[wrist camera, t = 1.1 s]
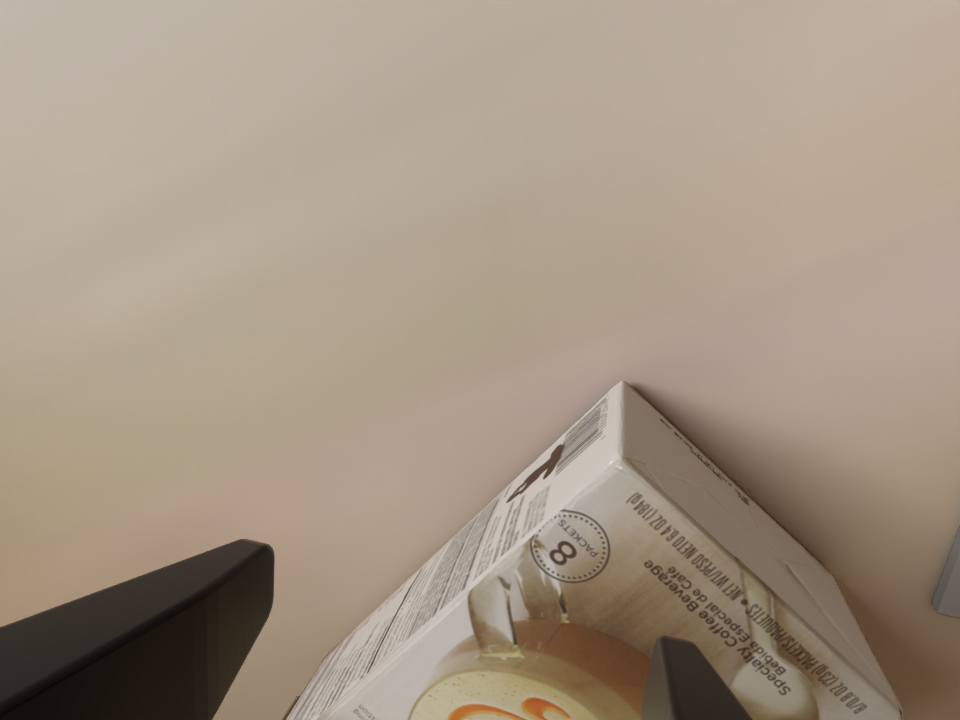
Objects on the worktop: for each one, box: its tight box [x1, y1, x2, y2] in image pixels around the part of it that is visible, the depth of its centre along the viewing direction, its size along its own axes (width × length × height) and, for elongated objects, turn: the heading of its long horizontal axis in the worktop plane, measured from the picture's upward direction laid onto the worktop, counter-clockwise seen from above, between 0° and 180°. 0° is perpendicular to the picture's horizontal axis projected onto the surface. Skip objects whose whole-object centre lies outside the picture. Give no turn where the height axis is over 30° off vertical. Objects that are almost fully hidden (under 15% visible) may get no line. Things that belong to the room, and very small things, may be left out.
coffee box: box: [282, 381, 903, 720], centre depth 20 cm, size 9×6×16 cm
